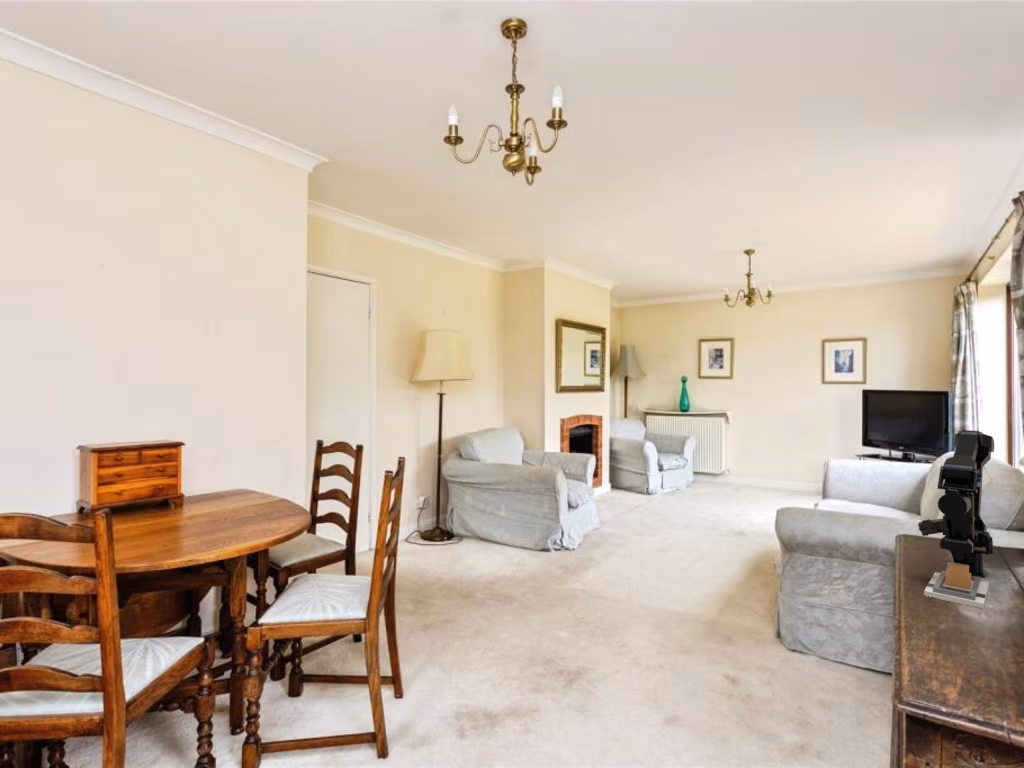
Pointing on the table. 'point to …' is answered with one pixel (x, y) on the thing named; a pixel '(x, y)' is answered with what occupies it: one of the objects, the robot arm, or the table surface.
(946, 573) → the fader knob
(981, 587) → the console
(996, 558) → the table surface
